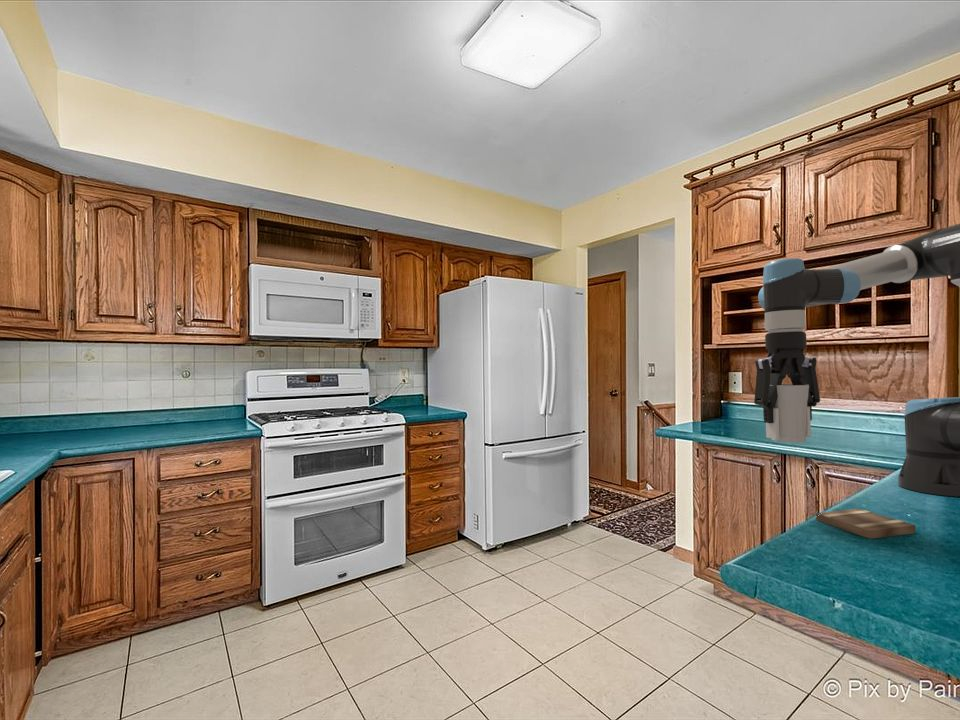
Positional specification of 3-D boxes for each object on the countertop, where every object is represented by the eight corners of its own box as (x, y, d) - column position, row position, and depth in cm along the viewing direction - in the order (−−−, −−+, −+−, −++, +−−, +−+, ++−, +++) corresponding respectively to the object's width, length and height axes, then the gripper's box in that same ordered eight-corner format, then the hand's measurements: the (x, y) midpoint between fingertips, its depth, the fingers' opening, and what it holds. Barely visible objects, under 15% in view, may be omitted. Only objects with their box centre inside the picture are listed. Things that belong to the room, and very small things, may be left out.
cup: (770, 436, 109) (768, 383, 109) (812, 439, 104) (810, 383, 104) (764, 441, 103) (762, 385, 103) (808, 444, 98) (806, 385, 98)
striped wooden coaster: (858, 515, 102) (857, 507, 102) (915, 532, 92) (915, 524, 92) (816, 520, 100) (815, 512, 100) (869, 538, 89) (869, 529, 89)
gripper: (808, 332, 110) (811, 432, 110) (732, 333, 105) (735, 437, 105) (839, 329, 102) (843, 436, 102) (759, 330, 98) (762, 442, 98)
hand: (788, 437), depth 104 cm, fingers closed on cup, 7 cm apart
